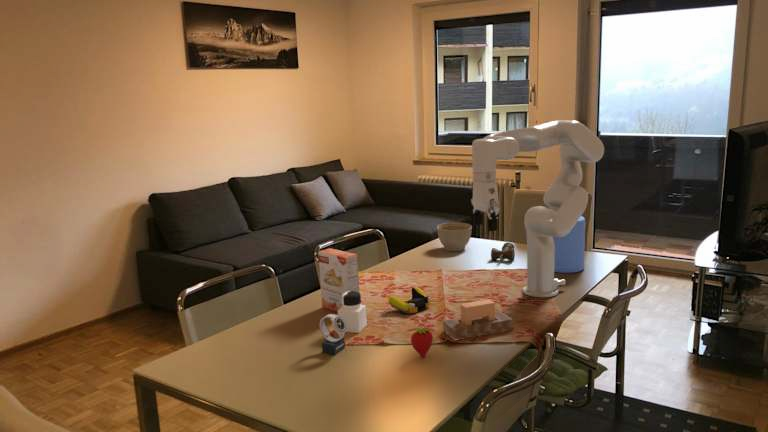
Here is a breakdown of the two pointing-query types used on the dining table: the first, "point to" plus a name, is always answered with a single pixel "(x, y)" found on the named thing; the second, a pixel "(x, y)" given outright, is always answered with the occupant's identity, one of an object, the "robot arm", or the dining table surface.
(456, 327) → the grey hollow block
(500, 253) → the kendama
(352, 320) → the medicine bottle
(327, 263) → the cracker box
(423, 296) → the gaming controller
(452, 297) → the dining table surface
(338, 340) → the watch
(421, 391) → the dining table surface
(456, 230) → the planter bowl
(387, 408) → the dining table surface
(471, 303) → the peach block
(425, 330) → the strawberry
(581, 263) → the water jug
